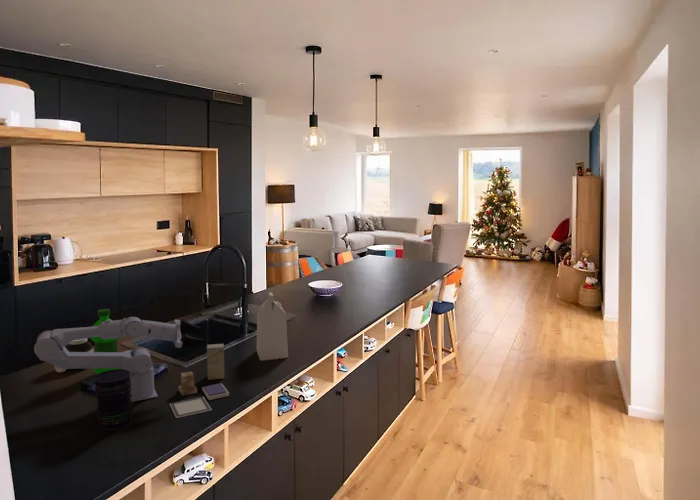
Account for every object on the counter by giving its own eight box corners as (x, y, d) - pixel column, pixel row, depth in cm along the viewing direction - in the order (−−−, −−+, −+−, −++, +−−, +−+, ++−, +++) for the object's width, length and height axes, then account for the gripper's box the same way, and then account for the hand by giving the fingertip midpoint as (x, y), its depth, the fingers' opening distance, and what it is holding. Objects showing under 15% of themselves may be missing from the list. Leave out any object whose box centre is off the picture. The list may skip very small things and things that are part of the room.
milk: (256, 350, 218) (255, 291, 215) (283, 348, 222) (282, 289, 218) (260, 360, 207) (258, 298, 203) (288, 357, 210) (287, 296, 207)
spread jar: (97, 363, 203) (95, 335, 201) (79, 374, 192) (77, 345, 190) (69, 362, 204) (66, 334, 202) (49, 373, 193) (47, 344, 191)
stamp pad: (208, 400, 170) (208, 395, 170) (202, 390, 178) (201, 386, 178) (229, 395, 174) (229, 391, 174) (221, 386, 182) (221, 382, 181)
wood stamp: (181, 396, 174) (181, 377, 173) (178, 390, 178) (177, 372, 177) (197, 392, 176) (196, 375, 175) (193, 387, 181) (193, 370, 180)
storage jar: (123, 411, 162) (120, 366, 160) (139, 420, 156) (136, 374, 154) (91, 423, 155) (88, 376, 152) (107, 433, 148) (103, 384, 146)
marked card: (176, 418, 158) (176, 417, 158) (169, 404, 167) (169, 403, 167) (211, 410, 163) (211, 409, 163) (203, 397, 173) (203, 396, 172)
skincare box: (207, 380, 187) (206, 348, 185) (207, 375, 191) (206, 344, 190) (225, 378, 189) (224, 346, 187) (224, 373, 193) (223, 343, 191)
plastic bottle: (86, 378, 188) (81, 313, 184) (106, 368, 198) (102, 305, 195) (110, 381, 186) (105, 314, 182) (128, 370, 196) (124, 307, 192)
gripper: (165, 332, 167) (206, 338, 173) (164, 310, 179) (202, 316, 185) (160, 350, 168) (201, 355, 175) (159, 327, 181) (197, 332, 187)
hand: (201, 336), depth 180 cm, fingers open, 7 cm apart
